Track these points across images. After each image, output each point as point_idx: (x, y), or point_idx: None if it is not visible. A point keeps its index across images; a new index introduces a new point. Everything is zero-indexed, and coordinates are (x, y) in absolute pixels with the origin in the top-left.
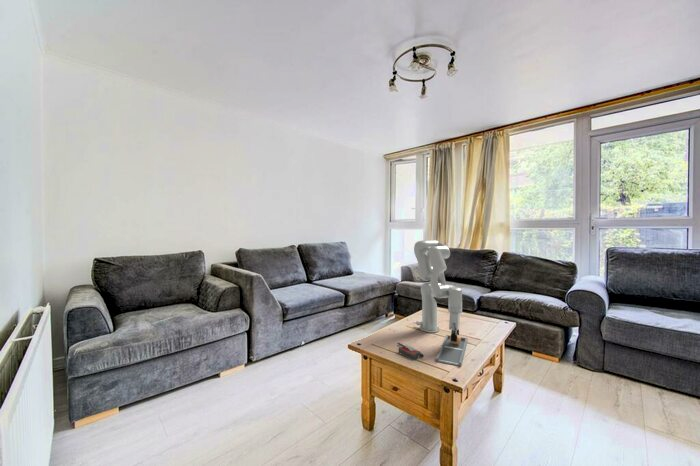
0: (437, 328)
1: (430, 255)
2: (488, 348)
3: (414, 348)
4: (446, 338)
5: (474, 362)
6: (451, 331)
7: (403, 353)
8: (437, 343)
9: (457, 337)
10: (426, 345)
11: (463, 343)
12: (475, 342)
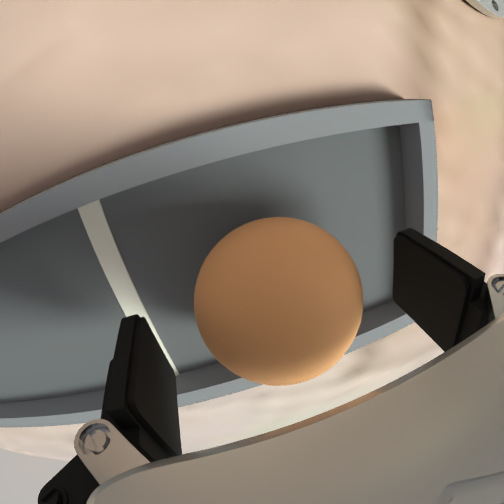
0: (499, 2)
1: None
2: None
3: None
4: (315, 132)
5: (68, 448)
6: (96, 478)
7: None
8: (148, 59)
9: (252, 381)
10: (9, 18)
11: None
12: (408, 344)
